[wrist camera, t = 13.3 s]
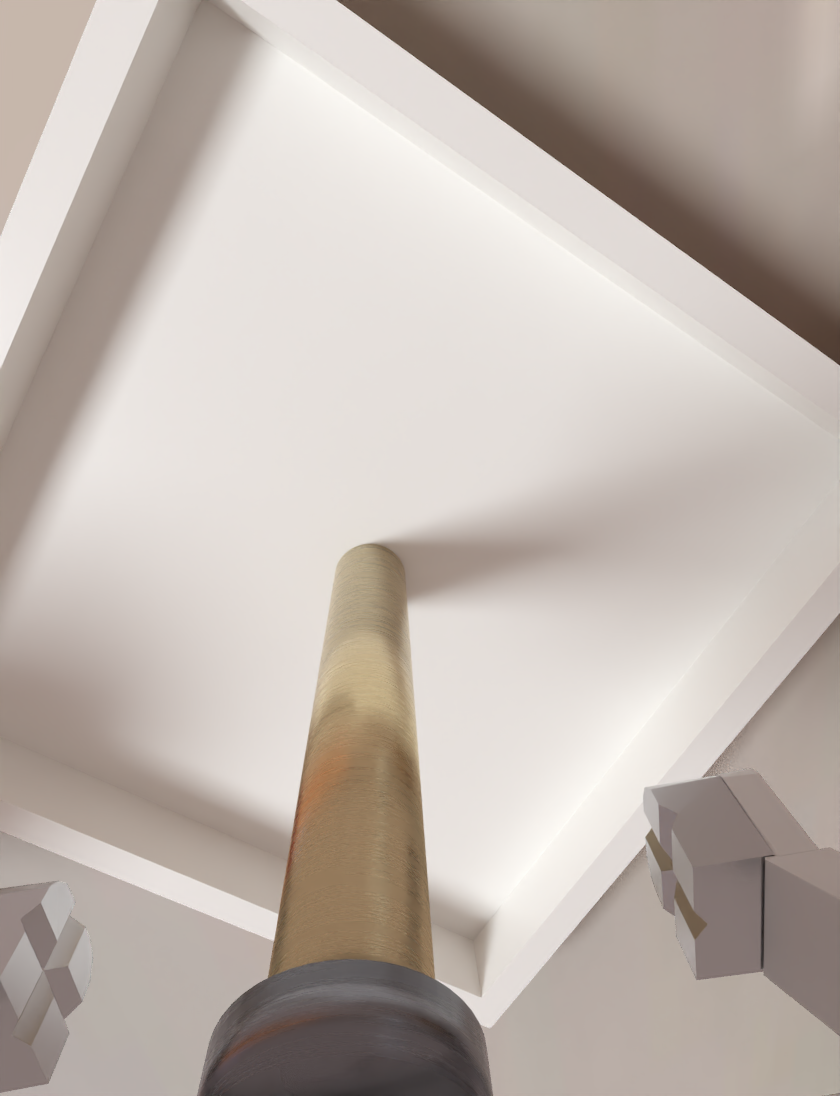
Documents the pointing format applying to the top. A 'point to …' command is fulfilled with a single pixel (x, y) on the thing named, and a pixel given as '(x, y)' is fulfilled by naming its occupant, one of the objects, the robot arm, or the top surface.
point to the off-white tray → (375, 476)
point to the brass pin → (355, 889)
